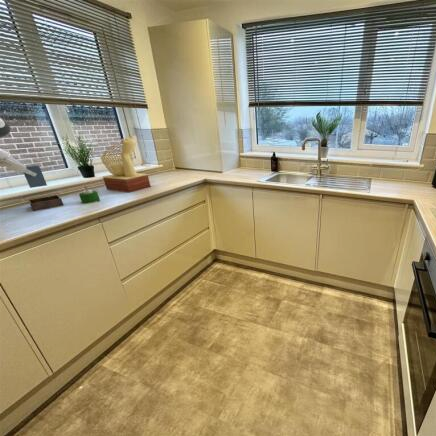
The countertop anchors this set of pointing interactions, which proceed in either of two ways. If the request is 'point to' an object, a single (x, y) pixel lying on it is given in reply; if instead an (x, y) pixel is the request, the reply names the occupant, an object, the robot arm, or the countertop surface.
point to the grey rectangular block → (35, 177)
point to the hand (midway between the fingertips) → (35, 174)
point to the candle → (89, 196)
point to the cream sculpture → (123, 169)
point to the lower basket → (45, 202)
